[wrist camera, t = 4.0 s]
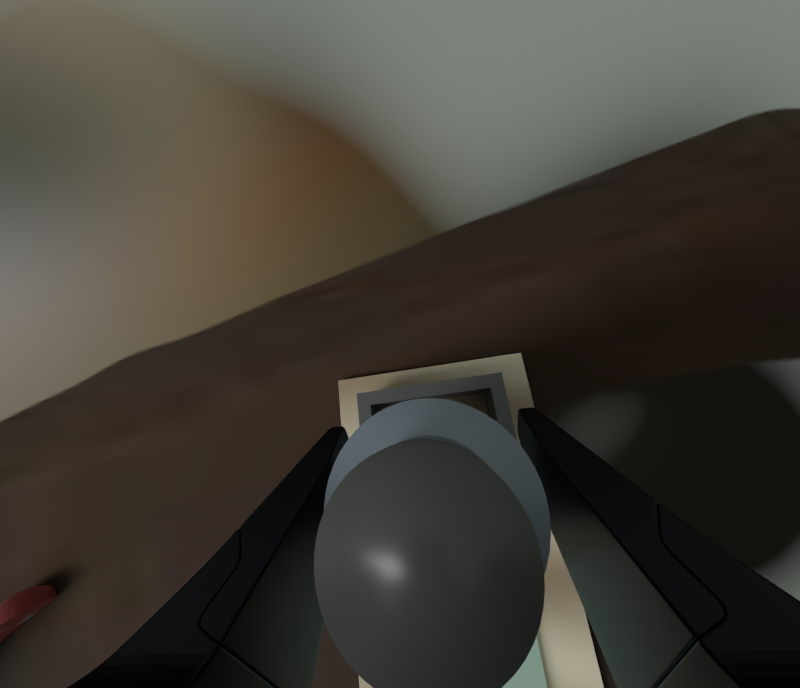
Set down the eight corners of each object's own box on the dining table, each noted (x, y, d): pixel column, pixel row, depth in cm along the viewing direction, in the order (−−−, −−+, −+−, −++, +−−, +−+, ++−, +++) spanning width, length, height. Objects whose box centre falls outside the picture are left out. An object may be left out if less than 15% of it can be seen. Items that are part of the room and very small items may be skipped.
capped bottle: (488, 493, 14) (681, 807, 3) (406, 502, 14) (257, 805, 3) (472, 408, 15) (558, 364, 4) (396, 419, 16) (259, 408, 4)
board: (633, 821, 11) (640, 836, 11) (372, 818, 12) (369, 831, 12) (519, 354, 16) (520, 352, 16) (340, 381, 17) (338, 380, 17)
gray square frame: (523, 521, 14) (540, 543, 11) (383, 535, 14) (370, 557, 12) (492, 379, 15) (501, 371, 13) (369, 397, 16) (356, 393, 14)
